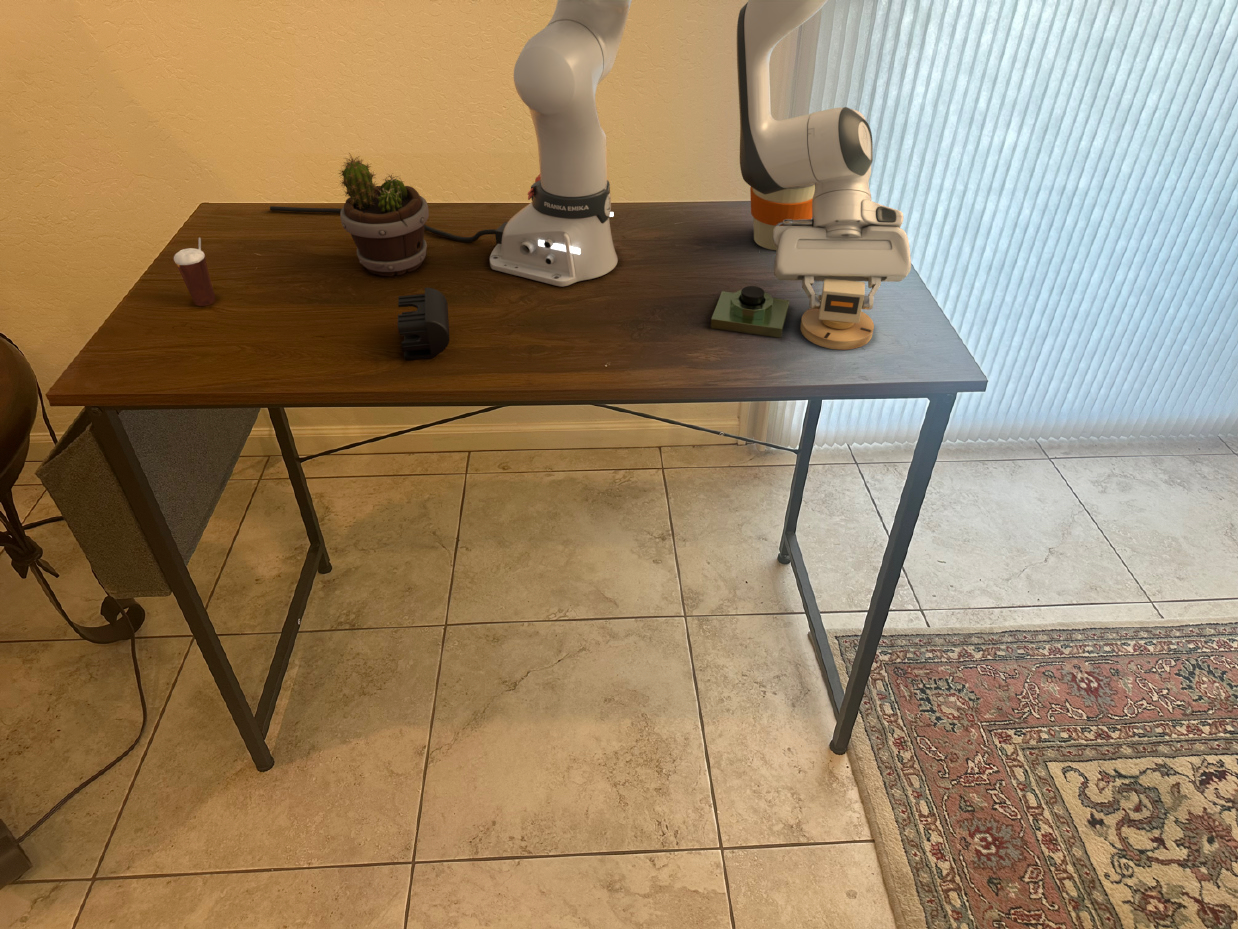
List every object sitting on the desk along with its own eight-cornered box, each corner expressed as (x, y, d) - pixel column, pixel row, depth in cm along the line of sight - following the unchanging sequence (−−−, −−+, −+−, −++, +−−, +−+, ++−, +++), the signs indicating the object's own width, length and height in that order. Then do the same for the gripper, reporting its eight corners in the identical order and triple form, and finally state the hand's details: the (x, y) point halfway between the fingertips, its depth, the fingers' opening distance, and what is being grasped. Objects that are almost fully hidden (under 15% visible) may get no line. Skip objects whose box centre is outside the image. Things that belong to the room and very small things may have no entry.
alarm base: (710, 328, 135) (711, 308, 132) (721, 300, 141) (722, 281, 139) (780, 338, 132) (783, 318, 130) (788, 309, 139) (791, 289, 137)
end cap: (452, 357, 129) (446, 318, 124) (404, 362, 128) (396, 323, 123) (450, 323, 136) (444, 285, 132) (405, 327, 135) (397, 289, 131)
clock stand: (858, 357, 128) (860, 348, 127) (789, 337, 132) (790, 328, 131) (881, 323, 135) (883, 314, 134) (815, 305, 140) (816, 297, 139)
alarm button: (738, 305, 134) (739, 295, 133) (742, 294, 136) (743, 284, 135) (761, 308, 133) (762, 298, 132) (765, 297, 136) (766, 287, 134)
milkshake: (229, 295, 143) (210, 240, 137) (205, 310, 140) (184, 254, 133) (209, 290, 145) (189, 234, 138) (184, 305, 141) (163, 248, 135)
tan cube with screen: (857, 330, 130) (864, 296, 126) (817, 326, 131) (823, 292, 127) (857, 314, 134) (864, 280, 130) (818, 310, 135) (824, 276, 131)
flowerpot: (441, 242, 158) (424, 132, 145) (429, 283, 146) (410, 167, 133) (361, 244, 157) (337, 134, 144) (344, 285, 146) (316, 169, 133)
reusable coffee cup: (775, 261, 151) (785, 178, 141) (730, 235, 159) (736, 154, 149) (827, 243, 156) (840, 162, 147) (781, 218, 164) (791, 140, 155)
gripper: (776, 211, 129) (775, 301, 128) (914, 212, 128) (914, 303, 127) (770, 226, 135) (769, 312, 134) (901, 227, 134) (902, 314, 133)
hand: (841, 308), depth 131 cm, fingers closed on tan cube with screen, 6 cm apart
